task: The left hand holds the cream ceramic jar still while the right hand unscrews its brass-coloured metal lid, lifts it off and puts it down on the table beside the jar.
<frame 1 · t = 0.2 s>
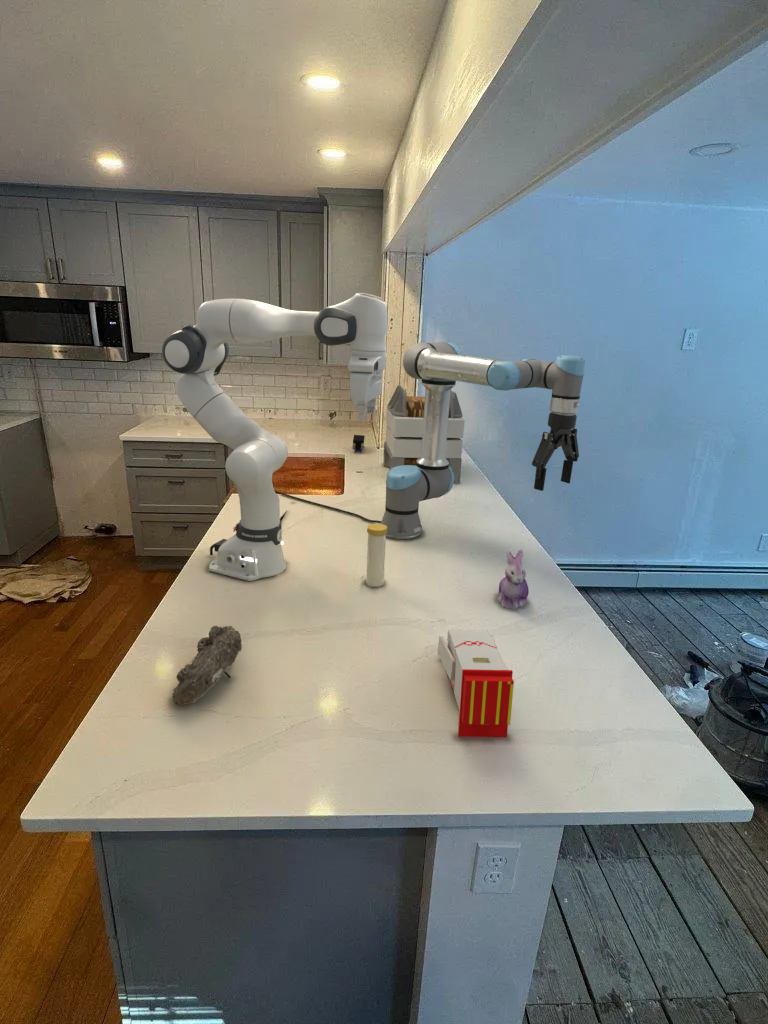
left hand: (366, 416, 148), 48 cm above the counter, tool pointing down, fingers open, 8 cm apart
right hand: (552, 485, 166), 28 cm above the counter, tool pointing down, fingers open, 13 cm apart
jar: (375, 583, 164), on the counter
fossil: (212, 676, 120), on the counter
feather: (285, 514, 213), on the counter
toy: (469, 691, 119), on the counter
lid: (377, 528, 158), point 17 cm above the counter, screwed on, not yet turned
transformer: (419, 473, 275), on the counter
figurine: (512, 602, 156), on the counter
figurine character: (358, 450, 313), on the counter
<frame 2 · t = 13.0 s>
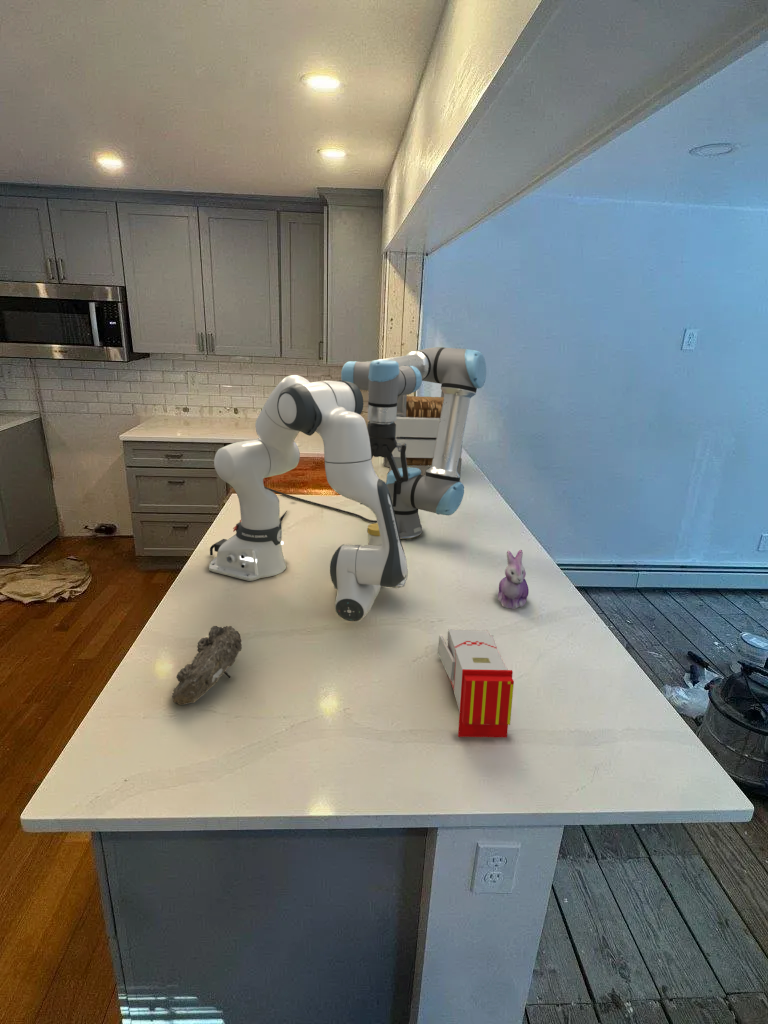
left hand: (376, 560, 162), 7 cm above the counter, tool horizontal, fingers closed on jar, 5 cm apart
right hand: (378, 503, 155), 24 cm above the counter, tool pointing down, fingers open, 8 cm apart
jar: (375, 583, 164), on the counter, touching left hand
everything else where it was.
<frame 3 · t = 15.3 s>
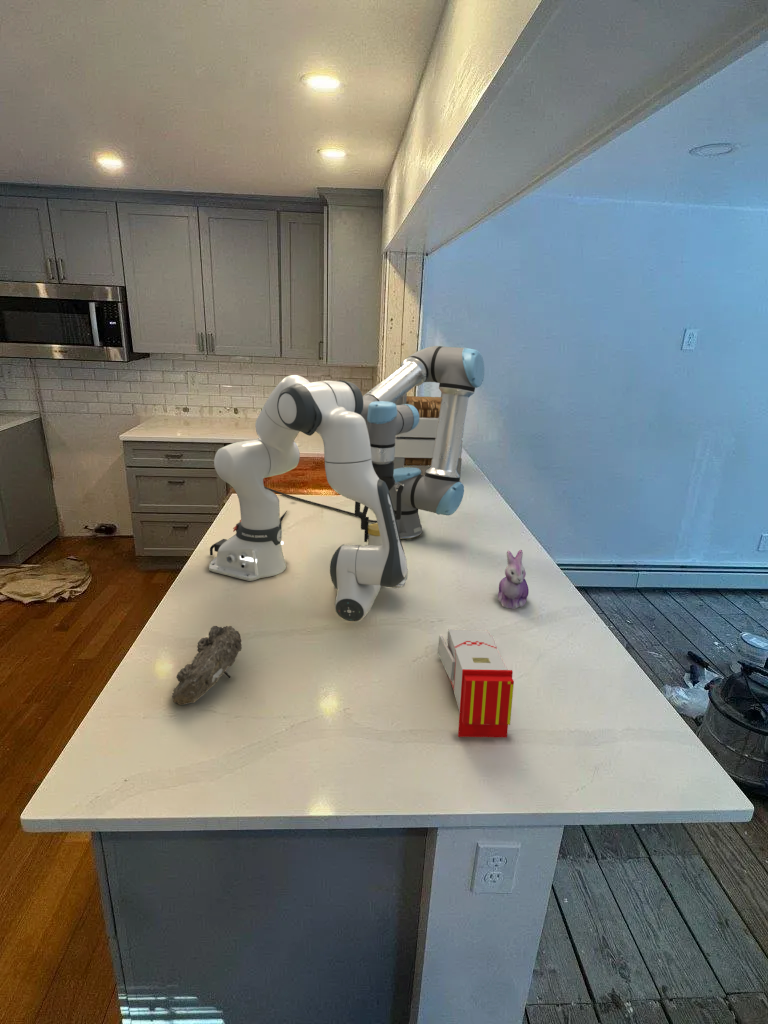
left hand: (376, 560, 162), 7 cm above the counter, tool horizontal, fingers closed on jar, 5 cm apart
right hand: (376, 540, 159), 13 cm above the counter, tool pointing down, fingers closed on lid, 5 cm apart
jar: (375, 583, 164), on the counter, touching left hand
lid: (377, 528, 158), point 17 cm above the counter, screwed on, not yet turned, touching right hand
everything else where it was.
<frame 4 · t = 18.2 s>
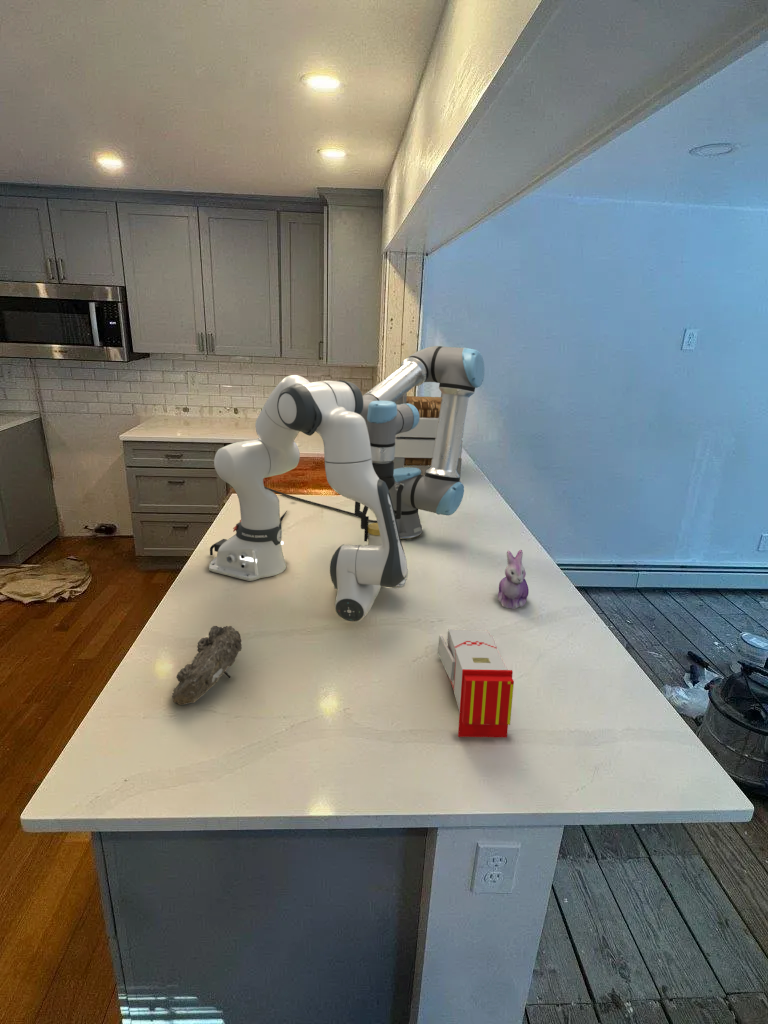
left hand: (376, 560, 162), 7 cm above the counter, tool horizontal, fingers closed on jar, 5 cm apart
right hand: (376, 540, 159), 13 cm above the counter, tool pointing down, fingers closed on lid, 5 cm apart
jar: (375, 583, 164), on the counter, touching left hand
lid: (377, 527, 158), point 17 cm above the counter, turned 80° so far, risen 0.2 cm, still on its thread, touching right hand
everything else where it was.
when the right hand's fingers open (0 cm above the counter, at t = 26.3 s): lid stays where it is, point 1 cm above the counter.
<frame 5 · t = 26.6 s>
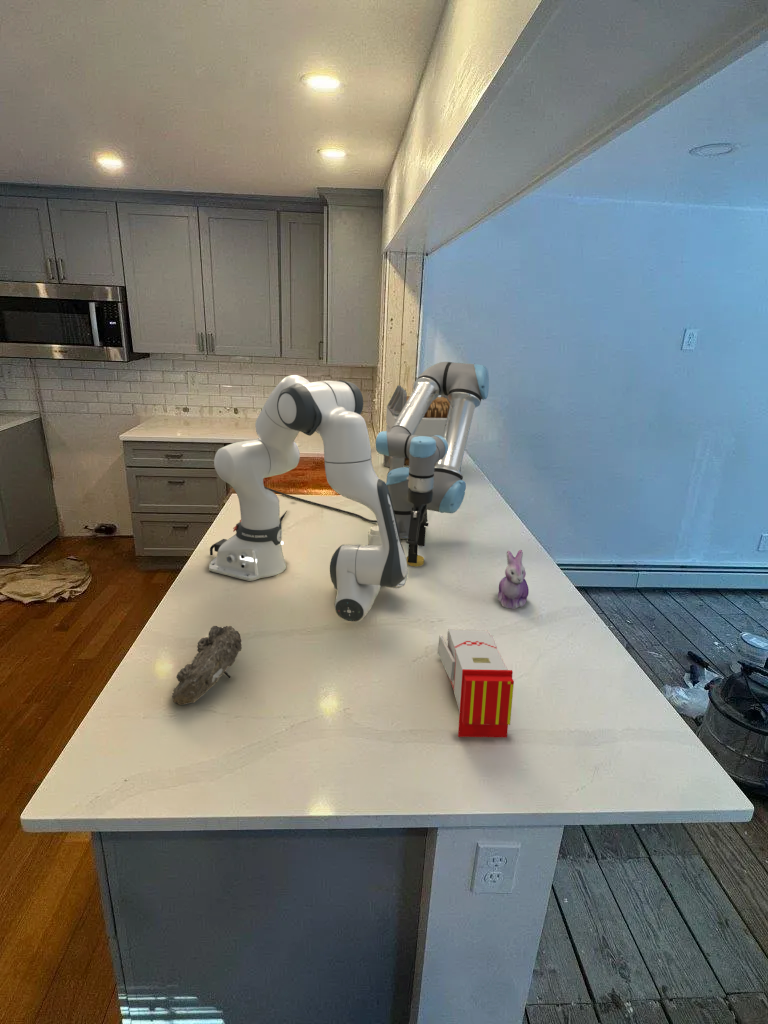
left hand: (376, 560, 162), 7 cm above the counter, tool horizontal, fingers closed on jar, 5 cm apart
right hand: (416, 553, 177), 3 cm above the counter, tool pointing down, fingers open, 12 cm apart
jar: (375, 583, 163), on the counter, touching left hand
lid: (415, 559, 177), point 1 cm above the counter, off its thread
everything else where it was.
when the left hand's fingers open (7 cm above the counter, at t = 27.0 s): jar stays where it is, on the counter.
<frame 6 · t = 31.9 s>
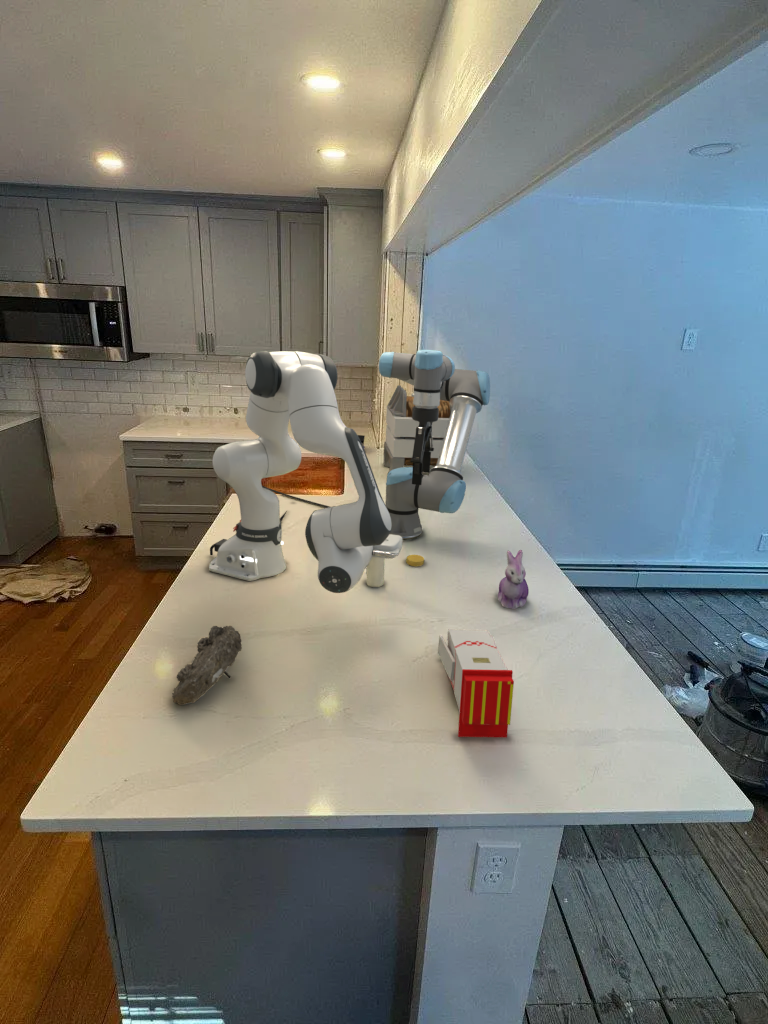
left hand: (367, 530, 145), 21 cm above the counter, tool horizontal, fingers open, 8 cm apart
right hand: (421, 478, 169), 28 cm above the counter, tool pointing down, fingers open, 13 cm apart
jar: (375, 583, 163), on the counter
everything else where it was.
at the end: lid came off its thread; lid point 1.3 cm above the counter; the left hand is holding nothing; the right hand is holding nothing; jar tilted 0°; jar moved 0.1 cm from its start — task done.
